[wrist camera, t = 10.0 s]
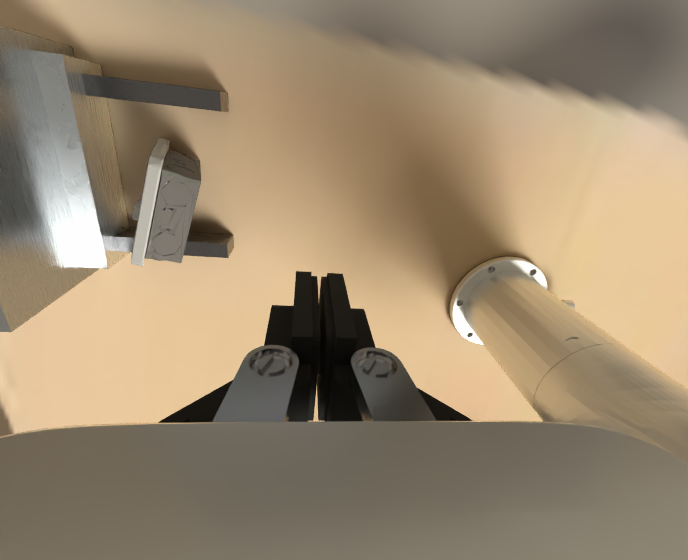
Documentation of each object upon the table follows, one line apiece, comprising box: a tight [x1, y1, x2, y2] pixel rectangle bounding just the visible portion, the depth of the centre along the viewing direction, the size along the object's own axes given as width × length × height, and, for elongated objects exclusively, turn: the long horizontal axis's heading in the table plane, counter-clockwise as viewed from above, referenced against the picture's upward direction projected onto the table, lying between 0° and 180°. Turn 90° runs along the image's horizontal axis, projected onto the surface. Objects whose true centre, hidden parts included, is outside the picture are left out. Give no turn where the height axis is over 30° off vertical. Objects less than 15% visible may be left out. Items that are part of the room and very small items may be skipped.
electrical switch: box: [131, 138, 201, 266], centre depth 30 cm, size 9×5×9 cm, turn 157°
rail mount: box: [0, 25, 234, 332], centre depth 26 cm, size 14×19×14 cm
